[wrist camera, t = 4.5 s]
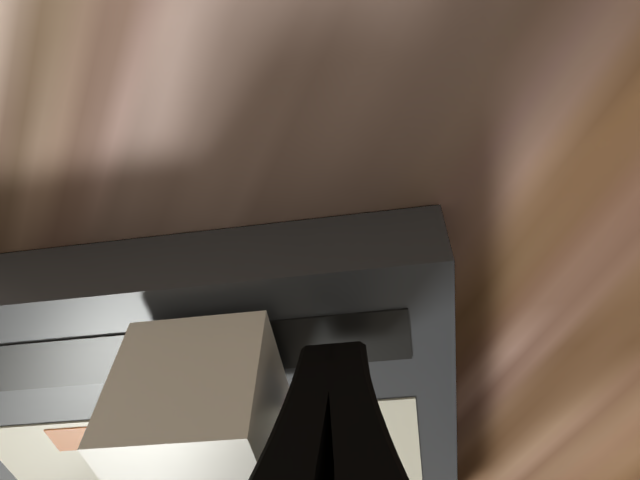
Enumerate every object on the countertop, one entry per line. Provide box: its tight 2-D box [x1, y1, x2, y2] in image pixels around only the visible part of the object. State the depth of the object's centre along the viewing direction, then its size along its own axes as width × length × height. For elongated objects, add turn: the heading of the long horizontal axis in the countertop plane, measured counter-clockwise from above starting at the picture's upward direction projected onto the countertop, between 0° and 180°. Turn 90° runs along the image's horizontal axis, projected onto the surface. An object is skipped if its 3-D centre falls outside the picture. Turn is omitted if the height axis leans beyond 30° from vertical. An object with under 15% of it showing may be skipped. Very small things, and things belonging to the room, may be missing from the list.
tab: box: [77, 310, 289, 480], centre depth 11 cm, size 3×3×3 cm
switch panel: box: [0, 205, 457, 480], centre depth 17 cm, size 14×13×2 cm
